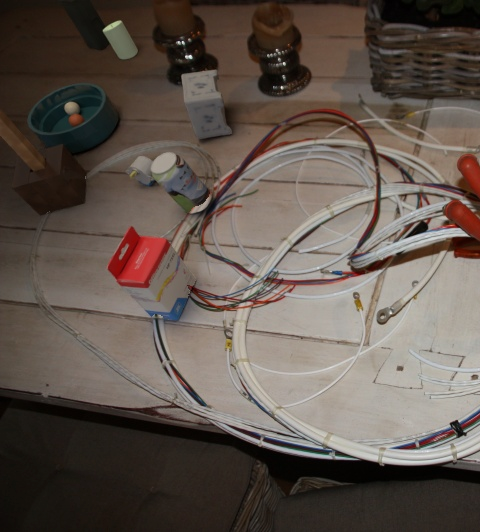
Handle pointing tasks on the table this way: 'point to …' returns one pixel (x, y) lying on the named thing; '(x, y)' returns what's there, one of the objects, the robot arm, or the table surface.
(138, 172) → the electric motor
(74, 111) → the cream ball
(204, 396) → the table surface
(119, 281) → the ink box
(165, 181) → the beverage can
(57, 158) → the holder
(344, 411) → the table surface
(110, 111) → the bowl
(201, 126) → the white printed box
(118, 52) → the candle
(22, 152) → the stirring stick
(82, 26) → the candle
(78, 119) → the terracotta ball
